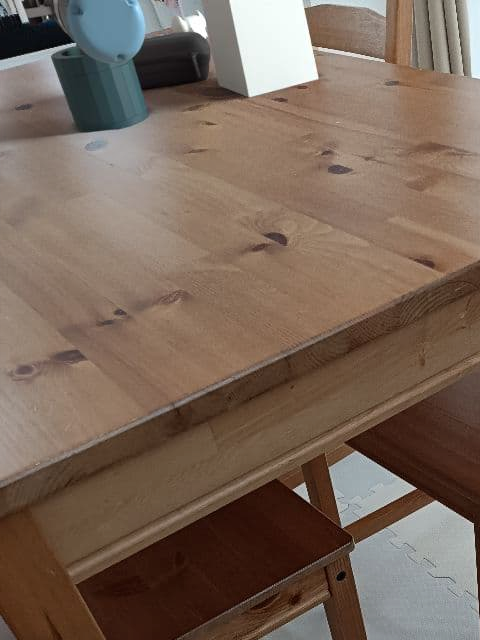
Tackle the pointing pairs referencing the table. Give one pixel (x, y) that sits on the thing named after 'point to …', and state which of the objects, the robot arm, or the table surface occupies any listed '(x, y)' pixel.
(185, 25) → the elephant figurine
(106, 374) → the table surface
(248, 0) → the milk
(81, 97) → the jar
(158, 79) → the glasses case
